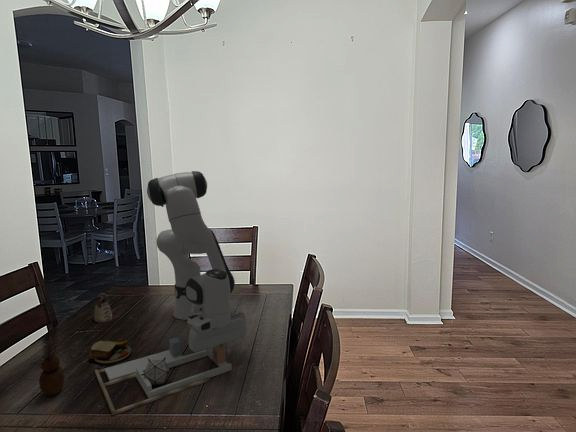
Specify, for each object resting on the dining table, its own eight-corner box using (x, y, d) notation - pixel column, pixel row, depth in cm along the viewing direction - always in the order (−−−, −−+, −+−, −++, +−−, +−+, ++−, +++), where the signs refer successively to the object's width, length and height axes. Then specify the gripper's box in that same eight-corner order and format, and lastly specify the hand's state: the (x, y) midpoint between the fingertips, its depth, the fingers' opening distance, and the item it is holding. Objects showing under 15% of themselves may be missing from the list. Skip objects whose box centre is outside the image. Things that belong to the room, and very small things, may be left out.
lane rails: (180, 348, 144) (180, 345, 144) (209, 380, 123) (209, 377, 123) (95, 373, 127) (94, 369, 127) (112, 415, 107) (112, 411, 106)
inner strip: (176, 350, 142) (175, 335, 141) (183, 359, 136) (182, 343, 135) (105, 371, 128) (103, 354, 127) (110, 382, 122) (108, 364, 121)
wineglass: (210, 343, 148) (209, 313, 146) (200, 351, 142) (199, 320, 140) (194, 340, 150) (193, 311, 148) (184, 348, 144) (183, 318, 142)
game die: (159, 398, 120) (155, 385, 113) (138, 384, 123) (132, 370, 115) (178, 373, 126) (175, 359, 119) (157, 360, 128) (153, 346, 121)
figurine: (115, 316, 173) (113, 290, 171) (106, 323, 166) (104, 296, 164) (100, 315, 174) (98, 290, 172) (91, 322, 167) (88, 295, 165)
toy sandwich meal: (120, 366, 132) (119, 353, 131) (83, 364, 133) (82, 351, 133) (138, 348, 144) (137, 336, 144) (103, 346, 146) (103, 335, 145)
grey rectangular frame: (214, 352, 141) (213, 339, 140) (232, 369, 129) (232, 355, 128) (136, 376, 125) (135, 362, 124) (149, 399, 113) (148, 383, 113)
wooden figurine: (49, 386, 120) (44, 340, 118) (68, 385, 121) (64, 340, 119) (37, 399, 114) (32, 351, 111) (57, 398, 114) (53, 350, 112)
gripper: (240, 307, 140) (241, 343, 142) (185, 321, 128) (187, 360, 131) (249, 313, 135) (249, 350, 137) (193, 328, 123) (194, 368, 125)
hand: (218, 355), depth 134 cm, fingers open, 4 cm apart
